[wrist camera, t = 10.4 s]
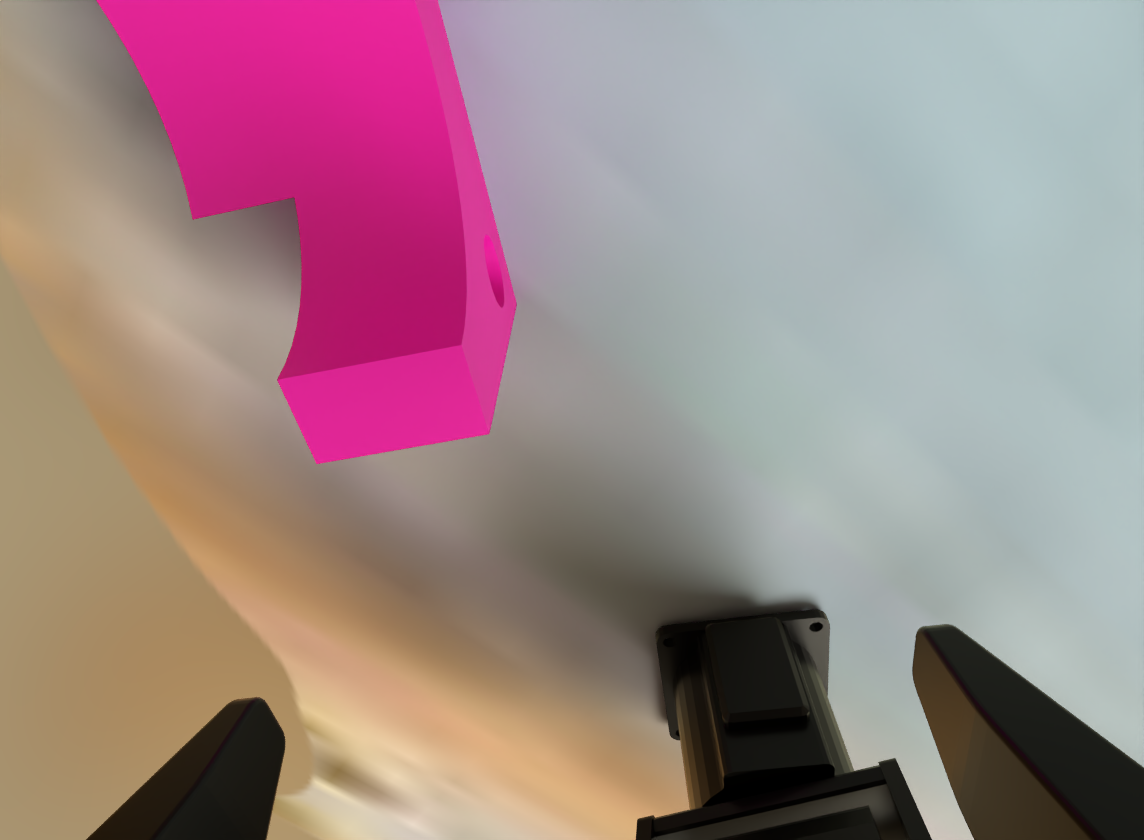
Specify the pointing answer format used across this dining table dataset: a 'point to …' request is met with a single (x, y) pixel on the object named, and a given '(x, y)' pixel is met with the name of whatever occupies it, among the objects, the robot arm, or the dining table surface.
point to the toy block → (346, 200)
